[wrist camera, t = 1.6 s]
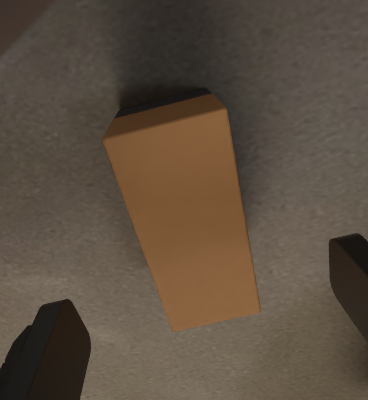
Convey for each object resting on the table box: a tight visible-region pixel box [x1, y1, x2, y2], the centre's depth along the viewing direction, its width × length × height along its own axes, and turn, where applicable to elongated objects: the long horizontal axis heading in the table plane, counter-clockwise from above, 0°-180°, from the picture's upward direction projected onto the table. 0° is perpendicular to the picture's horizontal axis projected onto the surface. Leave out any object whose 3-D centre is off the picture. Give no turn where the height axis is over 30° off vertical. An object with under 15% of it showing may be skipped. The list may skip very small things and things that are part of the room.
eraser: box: [102, 88, 261, 331], centre depth 14 cm, size 4×9×4 cm, turn 13°
